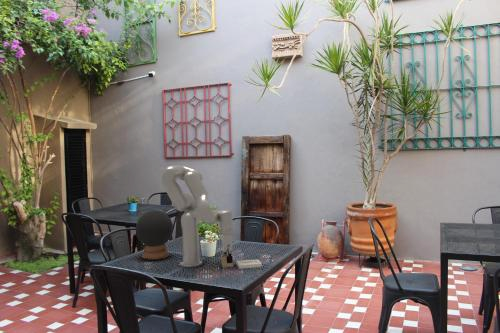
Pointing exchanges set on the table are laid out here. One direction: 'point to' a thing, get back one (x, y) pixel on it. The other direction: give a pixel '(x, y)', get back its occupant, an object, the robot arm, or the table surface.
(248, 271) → the table surface
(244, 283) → the table surface
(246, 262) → the dish
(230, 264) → the oak cube
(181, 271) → the table surface
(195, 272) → the table surface
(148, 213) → the decorative object
